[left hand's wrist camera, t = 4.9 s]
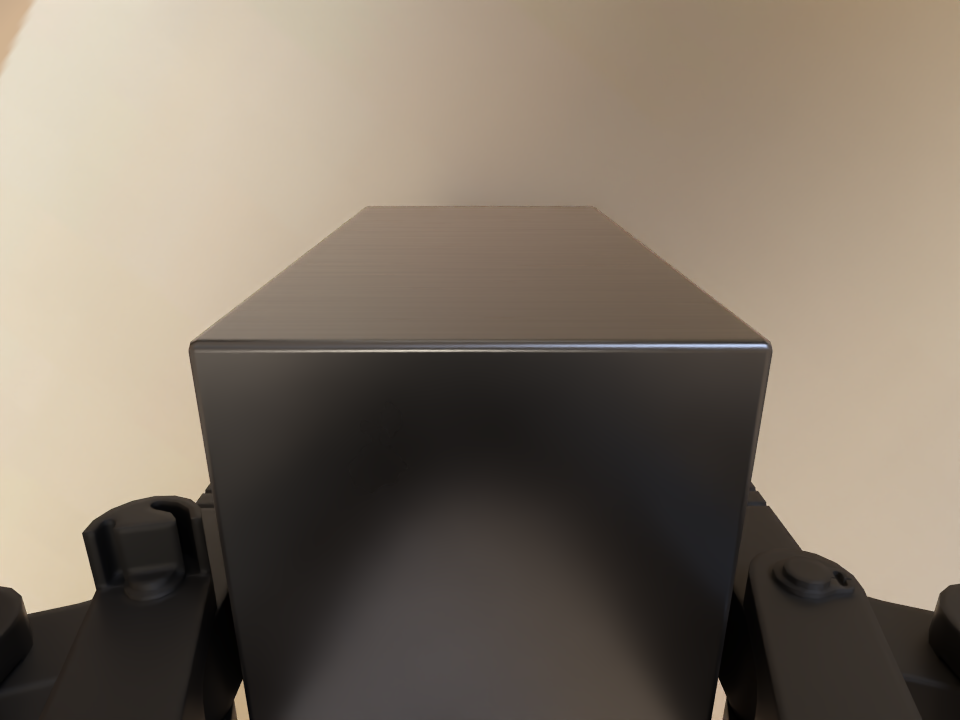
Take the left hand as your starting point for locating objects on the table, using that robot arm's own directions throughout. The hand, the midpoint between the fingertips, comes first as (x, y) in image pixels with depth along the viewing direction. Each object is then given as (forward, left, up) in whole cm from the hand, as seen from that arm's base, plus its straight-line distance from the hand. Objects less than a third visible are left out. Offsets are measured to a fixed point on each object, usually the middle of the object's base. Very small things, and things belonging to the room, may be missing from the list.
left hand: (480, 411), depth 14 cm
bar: (+6, +3, -1) cm, 7 cm away
